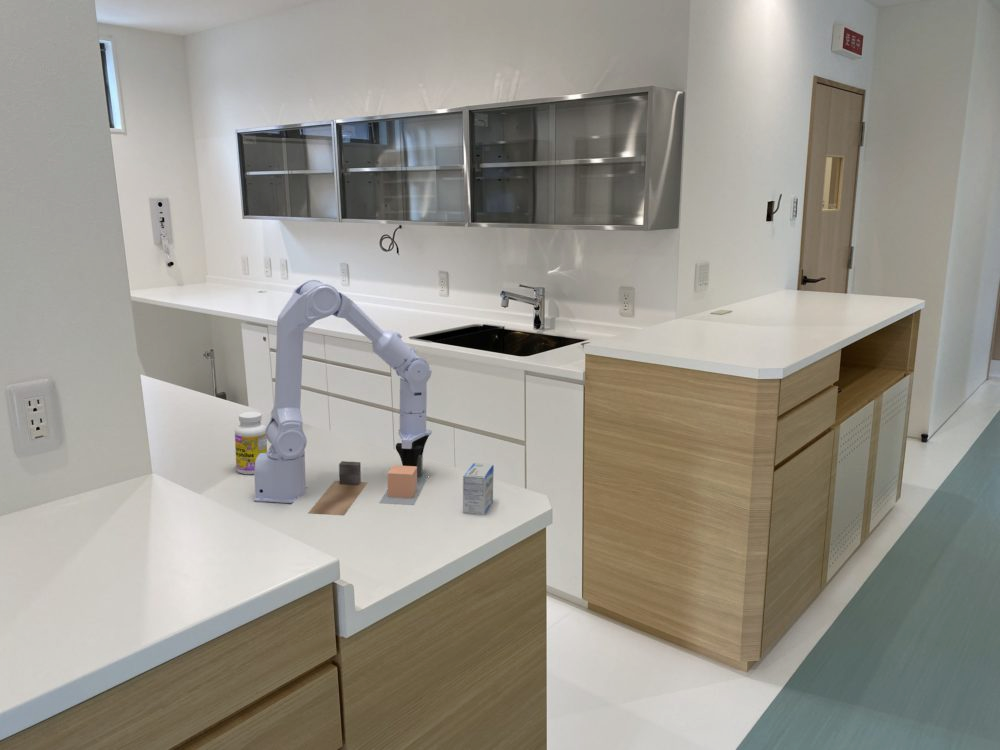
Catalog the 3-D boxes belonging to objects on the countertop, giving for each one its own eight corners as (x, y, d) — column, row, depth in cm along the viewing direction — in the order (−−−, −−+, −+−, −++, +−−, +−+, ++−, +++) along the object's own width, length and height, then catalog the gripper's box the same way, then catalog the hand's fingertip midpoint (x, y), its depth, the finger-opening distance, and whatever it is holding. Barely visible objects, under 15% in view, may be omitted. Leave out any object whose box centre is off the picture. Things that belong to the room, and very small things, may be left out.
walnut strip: (307, 517, 142) (307, 491, 141) (335, 484, 160) (334, 460, 159) (344, 519, 142) (343, 493, 141) (367, 486, 160) (367, 462, 158)
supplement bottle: (229, 472, 165) (227, 416, 163) (250, 463, 171) (247, 409, 169) (254, 477, 163) (252, 419, 160) (274, 468, 169) (272, 412, 166)
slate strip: (378, 506, 148) (378, 481, 147) (397, 476, 166) (397, 453, 165) (414, 508, 148) (414, 483, 147) (429, 477, 166) (429, 455, 165)
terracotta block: (387, 496, 152) (387, 473, 151) (393, 488, 157) (393, 465, 156) (412, 498, 151) (412, 474, 150) (416, 489, 156) (417, 466, 155)
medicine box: (484, 520, 144) (485, 477, 142) (461, 517, 145) (462, 474, 143) (493, 505, 152) (494, 464, 150) (471, 502, 152) (472, 462, 151)
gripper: (425, 420, 154) (425, 483, 157) (436, 403, 168) (436, 461, 171) (391, 418, 155) (391, 481, 158) (405, 401, 169) (405, 459, 172)
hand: (412, 470), depth 164 cm, fingers open, 6 cm apart
